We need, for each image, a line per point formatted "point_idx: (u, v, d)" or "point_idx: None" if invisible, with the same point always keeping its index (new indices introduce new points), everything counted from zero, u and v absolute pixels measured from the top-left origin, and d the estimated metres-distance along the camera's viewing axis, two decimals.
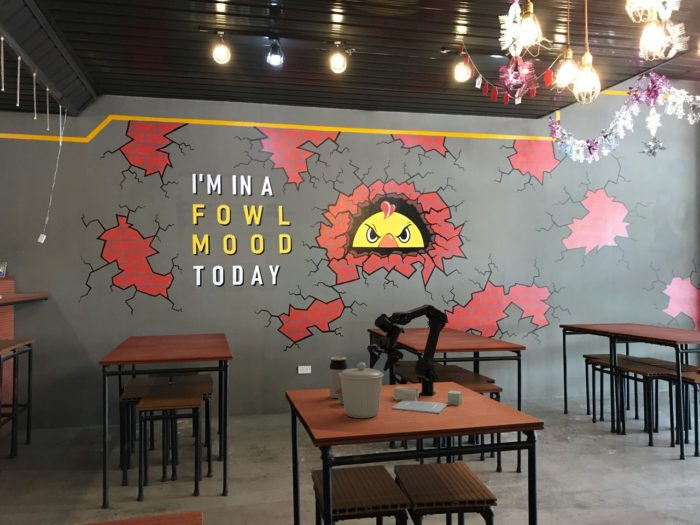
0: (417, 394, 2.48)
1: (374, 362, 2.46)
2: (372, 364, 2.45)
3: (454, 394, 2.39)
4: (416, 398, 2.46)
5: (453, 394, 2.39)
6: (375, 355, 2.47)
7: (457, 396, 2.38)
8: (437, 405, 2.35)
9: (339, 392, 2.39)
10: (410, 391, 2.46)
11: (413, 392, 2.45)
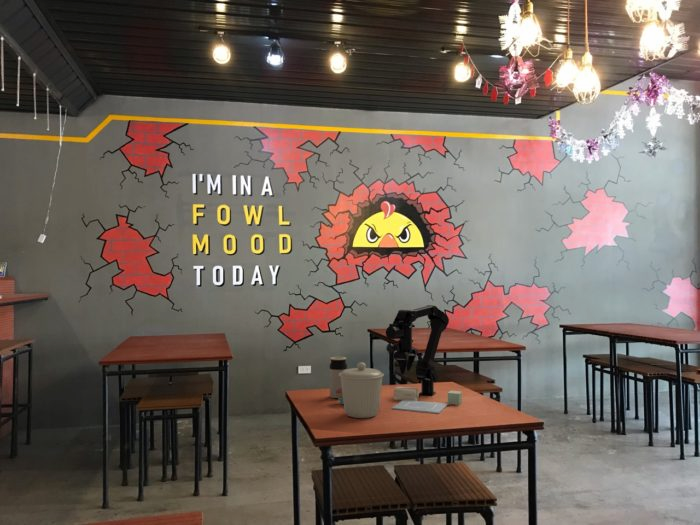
0: (417, 394, 2.49)
1: (410, 364, 2.54)
2: (408, 367, 2.54)
3: (454, 394, 2.39)
4: (416, 398, 2.47)
5: (453, 394, 2.39)
6: (408, 357, 2.55)
7: (457, 396, 2.38)
8: (437, 405, 2.35)
9: (339, 392, 2.39)
10: (410, 391, 2.46)
11: (413, 392, 2.46)
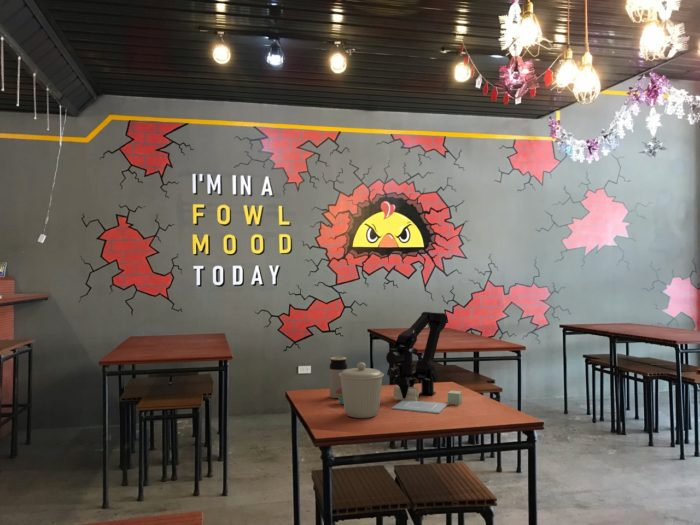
0: (417, 393, 2.49)
1: None
2: None
3: (454, 394, 2.39)
4: (416, 398, 2.47)
5: (453, 394, 2.39)
6: (408, 381, 2.53)
7: (457, 396, 2.38)
8: (437, 405, 2.35)
9: (339, 392, 2.39)
10: (410, 390, 2.46)
11: (413, 391, 2.46)
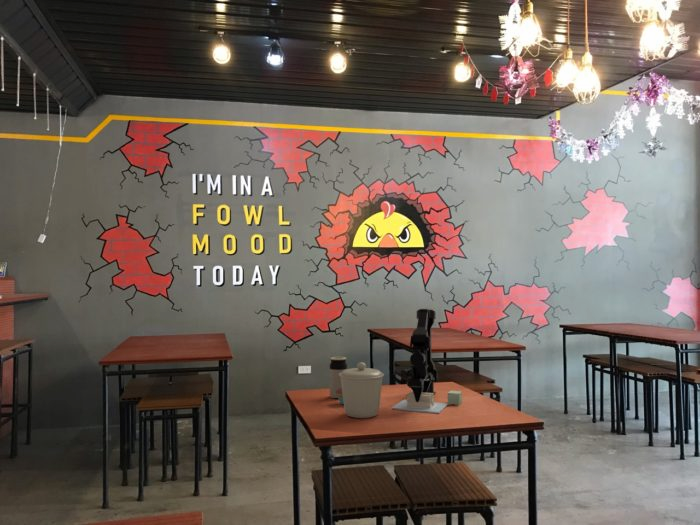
0: (432, 400, 2.34)
1: (425, 390, 2.39)
2: None
3: (454, 394, 2.39)
4: (431, 404, 2.32)
5: (453, 394, 2.39)
6: (423, 382, 2.40)
7: (457, 396, 2.38)
8: (437, 405, 2.35)
9: (339, 392, 2.39)
10: (425, 397, 2.31)
11: (428, 398, 2.31)
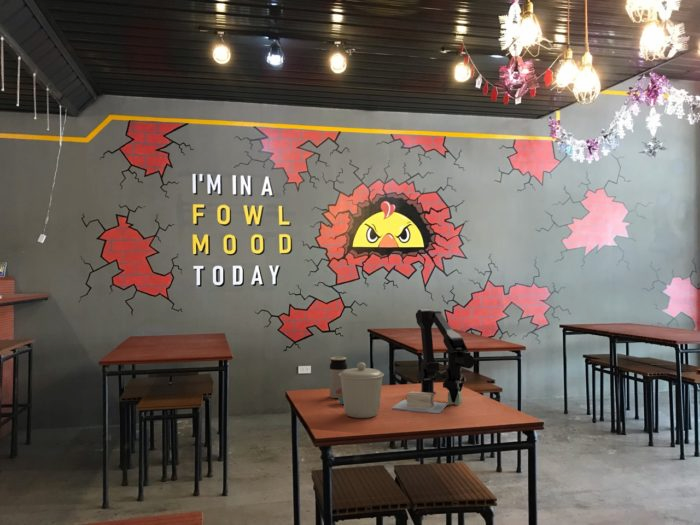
0: (432, 400, 2.34)
1: None
2: None
3: None
4: (431, 404, 2.32)
5: None
6: None
7: (457, 396, 2.38)
8: (437, 405, 2.35)
9: (339, 392, 2.39)
10: (425, 397, 2.31)
11: (428, 398, 2.31)
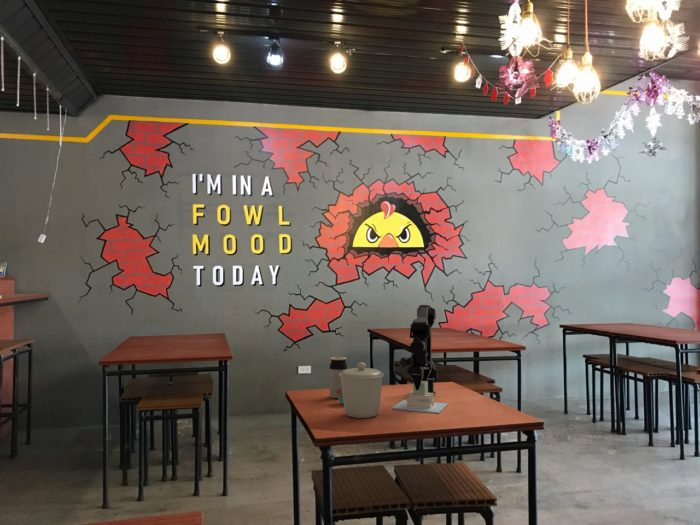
0: (432, 400, 2.34)
1: (425, 378, 2.39)
2: None
3: None
4: (431, 404, 2.32)
5: None
6: (423, 370, 2.40)
7: (422, 386, 2.32)
8: (437, 405, 2.35)
9: (339, 392, 2.39)
10: (425, 397, 2.31)
11: (428, 398, 2.31)
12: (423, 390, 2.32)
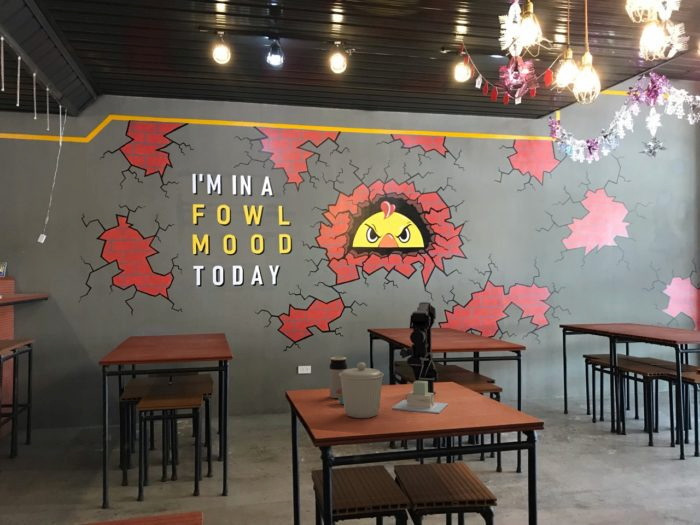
0: (432, 400, 2.34)
1: (424, 369, 2.39)
2: (423, 372, 2.39)
3: (419, 384, 2.33)
4: (431, 404, 2.32)
5: (418, 384, 2.33)
6: None
7: (422, 386, 2.32)
8: (437, 405, 2.35)
9: (339, 392, 2.39)
10: (425, 397, 2.31)
11: (428, 398, 2.31)
12: (423, 390, 2.32)
